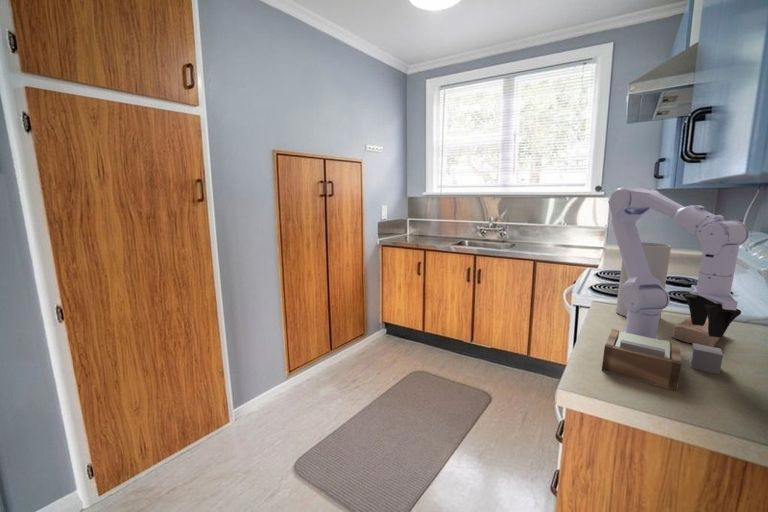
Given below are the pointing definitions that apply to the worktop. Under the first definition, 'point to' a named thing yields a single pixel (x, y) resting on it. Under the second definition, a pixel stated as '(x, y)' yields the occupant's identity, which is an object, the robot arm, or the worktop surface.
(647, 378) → the frame
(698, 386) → the worktop surface
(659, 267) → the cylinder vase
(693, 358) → the grey cube
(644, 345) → the trapdoor
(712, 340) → the brick
